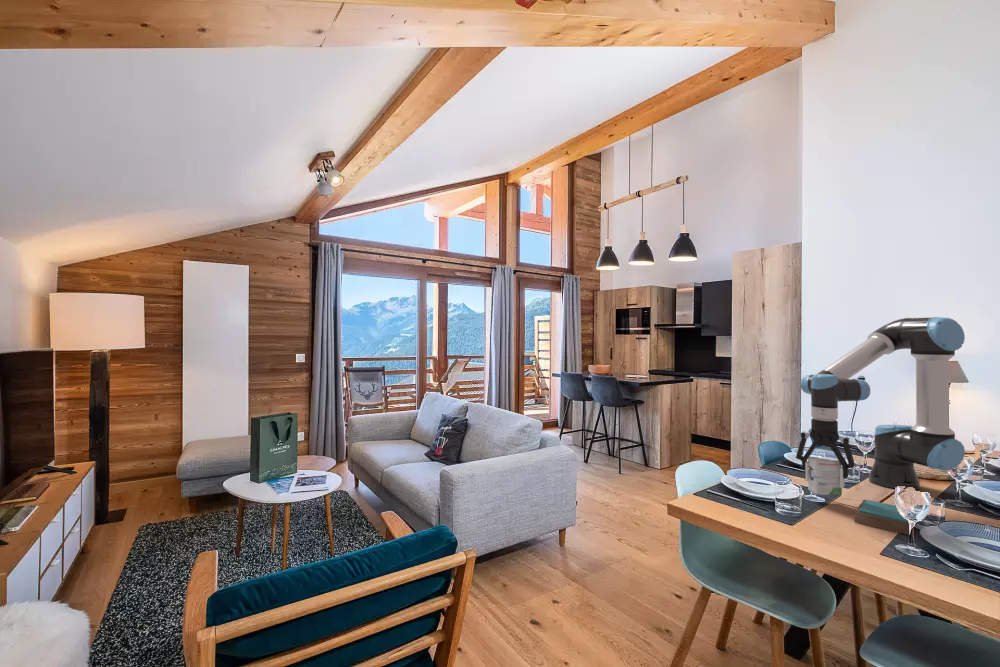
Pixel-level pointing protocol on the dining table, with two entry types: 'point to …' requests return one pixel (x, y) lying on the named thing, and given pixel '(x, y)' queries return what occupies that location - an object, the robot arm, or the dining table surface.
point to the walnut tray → (881, 516)
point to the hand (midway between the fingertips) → (824, 483)
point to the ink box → (824, 476)
